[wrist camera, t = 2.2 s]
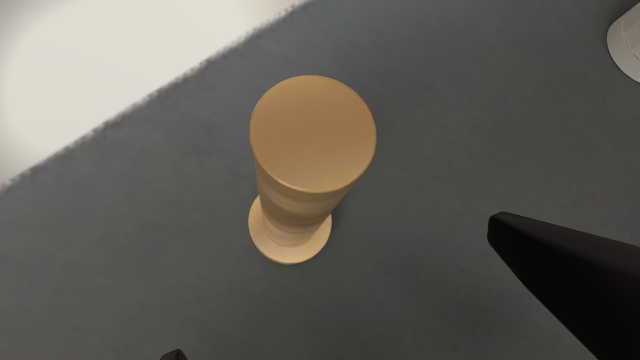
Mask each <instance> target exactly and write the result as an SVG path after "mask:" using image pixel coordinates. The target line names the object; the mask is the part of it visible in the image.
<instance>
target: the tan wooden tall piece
mask: <svg viewBox="0 0 640 360" xmlns="http://www.w3.org/2000/svg"><path fill="white" fill-rule="evenodd" d="M249 132H250V143H251V149H252V155H253V161H254V167H255V173H256V179H257V185H258V191H259V195H258V196H257V198H256V199H255V201H254V202H253V204H252V207H251V209H250V213H249V220H248V225H249V232H250V235H251V238H252V240H253V242H254V244H255V246H256V247H257V249H258V250H259V251H260V253H261V254H262V255H264V256H265V257H266V258H268V259H269V260H271V261H273V262H276V263H279V264H284V265H293V264H299V263H302V262H305V261H307V260H308V259H310V258H312V257H313V256H314V255H316V254H317V253H318V252H319V251H320V250H321V249H322V248H323V247H324V245H325V244H326V242H327V240H328V238H329V235H330V232H331V226H332V218H331V212H332V211H333V210H334V209H335V207H336V206H337V205H338V204H339V203H340V201H341V200H342V199H343V198H344V196H345V195H346V194H347V193H348V191H349V190H350V189H351V188H352V186H353V185H354V184H355V183H356V182H357V180H358V179H359V178H360V177H361V175H362V174H363V173H364V172H365V170H366V169H367V168H368V166H369V164H370V163H371V161H372V158H373V156H374V153H375V149H376V141H377V133H376V126H375V122H374V119H373V116H372V114H371V112H370V110H369V108H368V106H367V105H366V103H365V102H364V101H363V100H362V98H361V97H360V96H359V95H358V94H357V93H356V92H355V91H353V90H352V89H351V88H349V87H348V86H346V85H345V84H343V83H341V82H339V81H337V80H334V79H331V78H328V77H323V76H316V75H304V76H297V77H293V78H289V79H287V80H284V81H282V82H280V83H278V84H277V85H275V86H274V87H272V88H271V89H270V90H268V91H267V92H266V93H265V94H264V95H263V97H262V98H261V99H260V100H259V102H258V103H257V105H256V107H255V109H254V111H253V114H252V117H251V121H250V130H249Z"/></svg>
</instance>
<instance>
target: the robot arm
mask: <svg viewBox="0 0 640 360" xmlns="http://www.w3.org/2000/svg"><path fill="white" fill-rule="evenodd" d="M487 239H488V242H489V244H490V245H491V246H492V248H493V249H494V250H495V251H496V252H497V254H498V255H499V256H500V257H501V259H502V260H503V261H504V262H505V263H506V265H507V266H508V267H509V268H510V269H511V271H512V272H513V273H514V274H515V275H516V277H517V278H518V279H519V280H520V281H521V282H522V284H523V285H524V286H525V287H526V288H527V289H528V290H529V291H530V292H531V293H532V294H533V295H534V296H535V297H536V298H537V299H538V300H539V301H540V302H541V303H542V304H543V305H544V306H545V307H546V308H547V309H548V310H549V311H550V312H551V313H552V314H553V315H554V316H555V317H556V318H557V319H558V320H559V321H560V322H561V323H562V324H563V325H564V326H565V327H566V328H567V329H568V330H569V331H570V332H571V333H572V334H573V335H574V336H575V337H576V338H577V339H578V340H579V341H580V342H581V343H582V344H583V345H584V346H585V347H586V348H587V349H588V350H589V351H590V352H591V353H592V354H593V355H594V356H595V357H596V358H597V359H598V360H640V247H639V246H635V245H631V244H627V243H623V242H619V241H616V240H612V239H608V238H604V237H600V236H596V235H593V234H589V233H585V232H581V231H577V230H573V229H570V228H566V227H562V226H558V225H554V224H550V223H547V222H543V221H539V220H535V219H531V218H527V217H524V216H520V215H516V214H512V213H508V212H499V213H497V214H494V215H492V216H491V217H490V218H489V223H488V233H487ZM160 360H187V358H186V356H185V355H184V353H183V352H182V351H181V350H180V349H176V350H173V351H171V352H169V353H166V354H164V355H163V356H162V357H161V358H160Z"/></svg>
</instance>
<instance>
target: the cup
mask: <svg viewBox="0 0 640 360" xmlns="http://www.w3.org/2000/svg"><path fill="white" fill-rule="evenodd" d="M607 45H608V49H609V52H610V54H611V56H612V58H613V60H614V61H615V63H616V64H617V66H618V67H619V68H620V69H621V70H622V71H623V72H624V73H625V74H626V75H628V76H629V77H630V78H632V79H633V80H635V81H637V82H639V83H640V2H639V3H638V4H637V5H635V6H634V7H633V8H632V9H631V10H629V11H628V12H627V13H625V14H624V15H623V16H621V17H620V18H619V19H618V20H616V21H615V22H614V23H613V24H612V25H611V26H610V28H609V30H608V33H607Z"/></svg>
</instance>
